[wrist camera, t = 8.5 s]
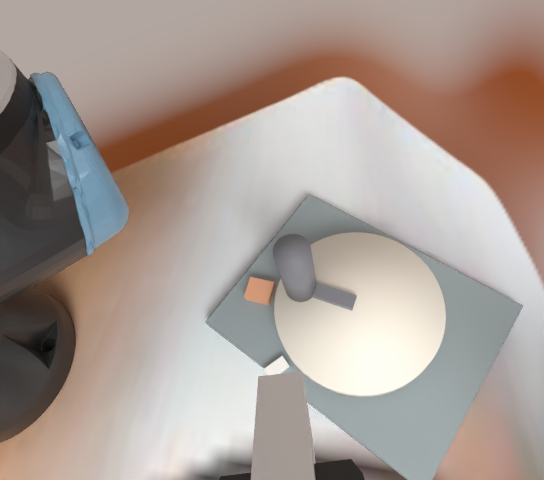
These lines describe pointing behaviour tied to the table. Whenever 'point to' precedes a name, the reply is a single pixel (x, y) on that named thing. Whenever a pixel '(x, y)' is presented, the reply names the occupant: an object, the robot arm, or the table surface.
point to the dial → (357, 311)
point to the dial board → (405, 401)
